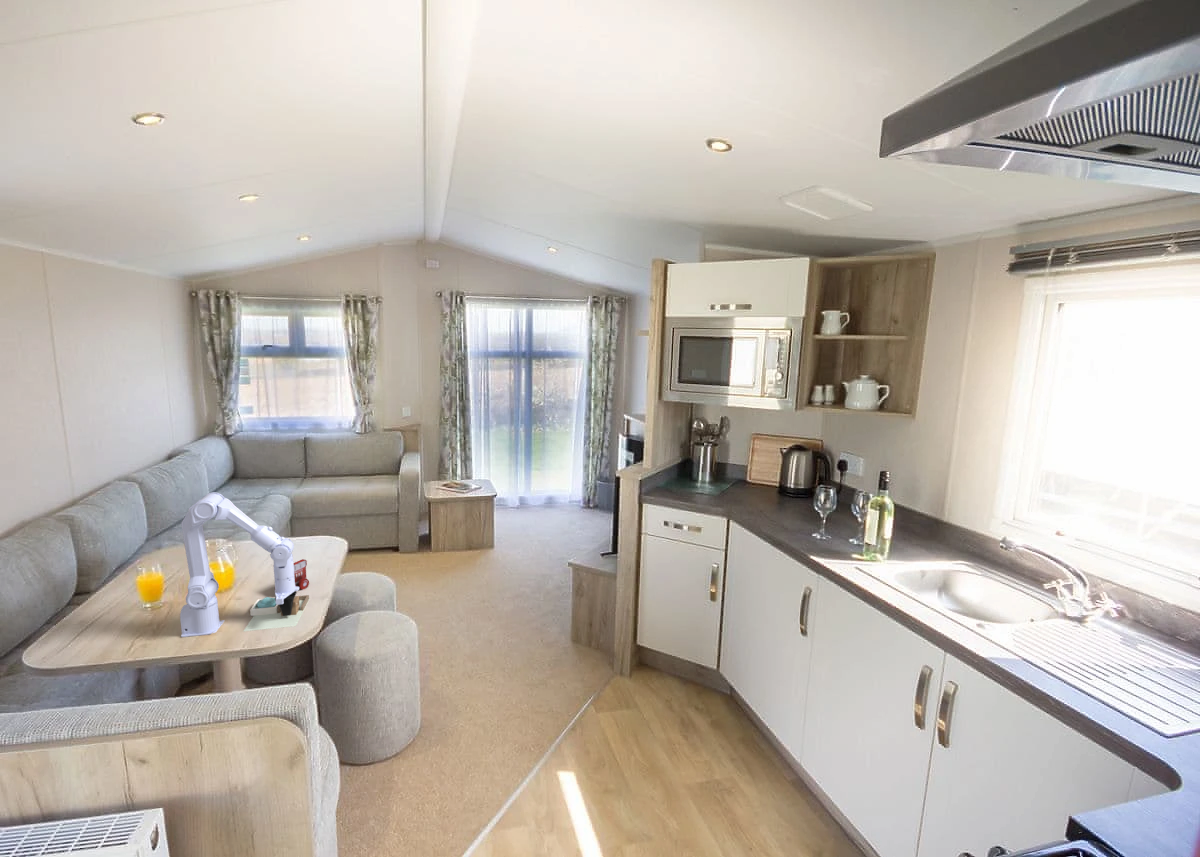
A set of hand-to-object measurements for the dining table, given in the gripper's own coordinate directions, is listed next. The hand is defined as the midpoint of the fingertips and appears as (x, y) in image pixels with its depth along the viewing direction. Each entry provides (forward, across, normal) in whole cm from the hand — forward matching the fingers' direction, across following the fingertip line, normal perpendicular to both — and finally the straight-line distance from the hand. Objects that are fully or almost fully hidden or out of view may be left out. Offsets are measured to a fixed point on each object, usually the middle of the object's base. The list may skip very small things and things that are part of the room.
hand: (287, 614), depth 184 cm
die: (+1, +4, 0) cm, 4 cm away
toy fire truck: (+2, +23, +4) cm, 23 cm away
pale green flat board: (+2, +4, +4) cm, 5 cm away
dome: (0, +8, +8) cm, 11 cm away
